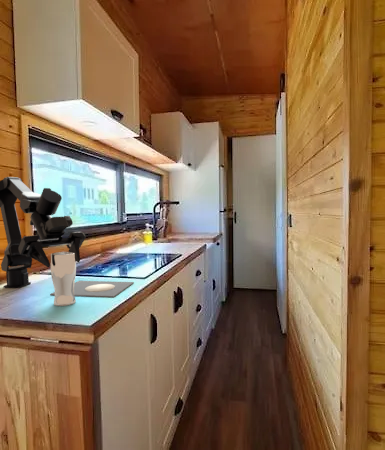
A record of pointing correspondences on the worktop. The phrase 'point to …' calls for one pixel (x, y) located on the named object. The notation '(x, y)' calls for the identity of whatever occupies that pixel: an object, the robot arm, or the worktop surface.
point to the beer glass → (63, 277)
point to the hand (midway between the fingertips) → (64, 263)
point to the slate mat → (99, 288)
